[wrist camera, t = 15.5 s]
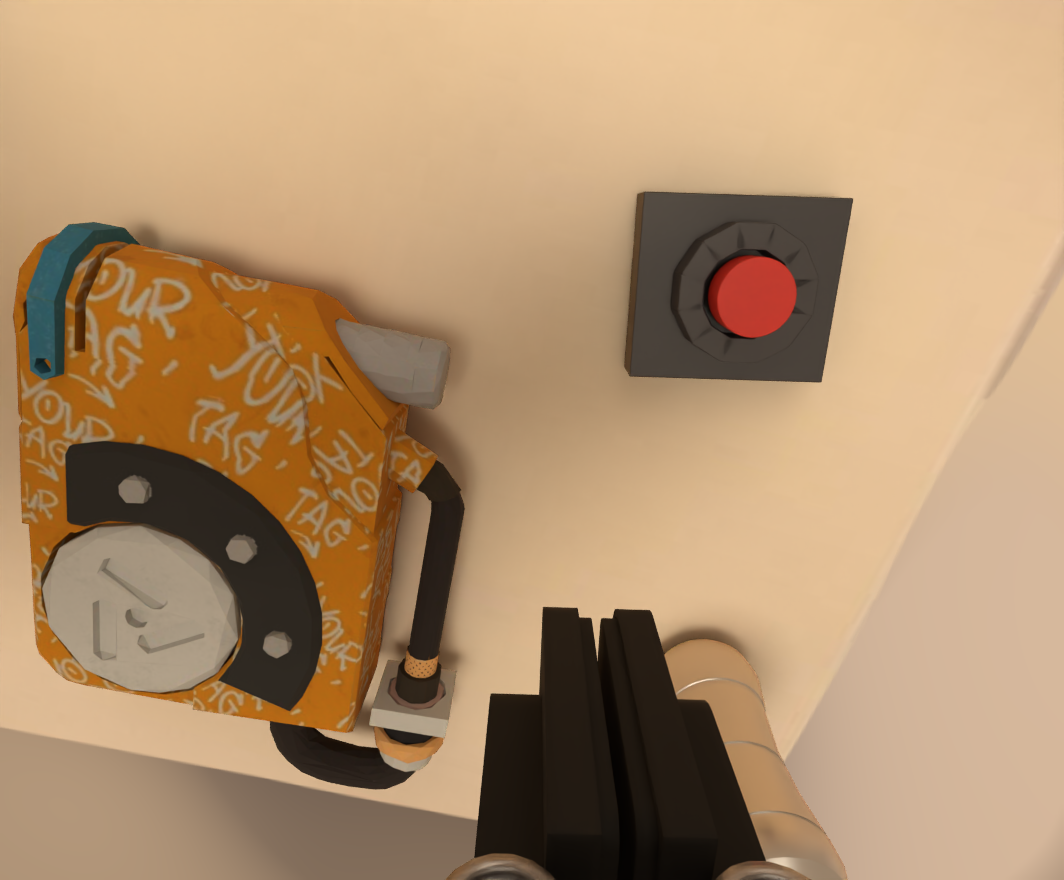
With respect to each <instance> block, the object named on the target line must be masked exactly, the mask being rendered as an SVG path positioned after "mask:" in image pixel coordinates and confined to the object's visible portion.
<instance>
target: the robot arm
mask: <svg viewBox="0 0 1064 880" xmlns="http://www.w3.org/2000/svg"><path fill="white" fill-rule="evenodd" d="M446 880H811V879H809V878H808V877H806V876H804V875H802V874H801V873H799V872H797V871H795V870H793V869H792V868H789V867H786V866H782V865H779V864H776V863H773V862H769V861H766V859H765V856H764V853H763V851H762V848H761V845H760V842H759V840H758V837H757V834H756V831H755V828H754V826H753V823H752V820H751V817H750V815H749V812H748V809H747V806H746V803H745V801H744V798H743V795H742V792H741V790H740V787H739V784H738V781H737V778H736V776H735V773H734V770H733V767H732V764H731V762H730V759H729V756H728V753H727V751H726V748H725V745H724V742H723V739H722V737H721V734H720V731H719V728H718V726H717V723H716V720H715V717H714V714H713V712H712V709H711V707H710V705H709V703H708V702H707V701H706V700H691V699H677V696H676V693H675V690H674V686H673V683H672V679H671V676H670V673H669V669H668V666H667V663H666V659H665V656H664V652H663V649H662V646H661V642H660V639H659V635H658V632H657V629H656V625H655V622H654V618H653V615H652V613H651V611H650V610H625V609H615V611H614V615H613V619H610V618H602V619H601V623H600V636H599V649H598V662H597V655H596V647H595V640H594V633H593V626H592V619H591V618H579V614H578V609H577V608H559V607H543V617H542V641H541V665H540V689H539V695H524V694H491V696H490V704H489V714H488V724H487V734H486V745H485V755H484V765H483V775H482V785H481V795H480V805H479V816H478V826H477V836H476V847H475V856H474V859H471V860H470V861H468V862H466V863H465V864H463V865H462V866H460V867H458V868H457V869H455V870H454V871H453V872H452V873H451V874H450V875H449V876H448V877H447V879H446Z"/></svg>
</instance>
